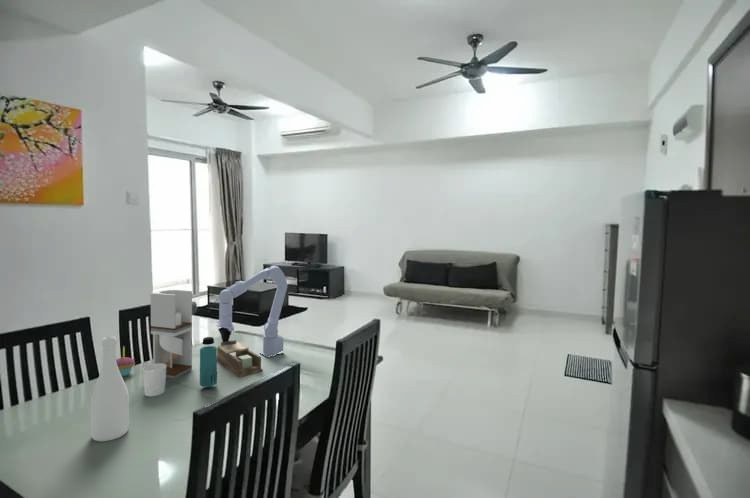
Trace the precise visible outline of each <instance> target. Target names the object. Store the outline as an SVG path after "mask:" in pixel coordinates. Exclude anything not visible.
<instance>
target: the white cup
mask: <svg viewBox="0 0 750 498" xmlns="http://www.w3.org/2000/svg"><path fill="white" fill-rule="evenodd" d="M166 380H167V378H166V364H162V363H157V364H153V363H150V364H148V365H144V366H143V367H142V383H143V390H144V396H147V397H157V396H160V395H162V394H164V393H165V391H166Z"/></svg>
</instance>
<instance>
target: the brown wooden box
mask: <svg viewBox="0 0 750 498" xmlns="http://www.w3.org/2000/svg"><path fill="white" fill-rule="evenodd" d="M216 348H217V364H219V365H221V366H222V367H223V368H225V369H226V370H228V371H229V372H230V373H232V374H233V375H234V376H236V377H237V378H241V377H244V376H248V375H252V374H255V373H256V374H257V373H260V372H263V370H264V369H263V368H262V356H261V355H260V354H256V353H255V352H253V351H251V350H250V349H248V350H243V351H239V352H235V354H234V355H232V354H231V353H229V354H227V353H225V352H224V351H222V350H221V349H219V348H218V347H216ZM244 355H249V356H251V357H252V367H251V368H247V369H243V370H241V369H242V361H240V360H238V357H239V356H244ZM259 371H260V372H259Z"/></svg>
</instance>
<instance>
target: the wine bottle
mask: <svg viewBox="0 0 750 498" xmlns="http://www.w3.org/2000/svg"><path fill="white" fill-rule="evenodd" d="M117 343H118V341H117V337H116V336H112V335H110V336H104V337H103V338H102V340H101V346H102V365H101V366H102V367H101V371H100V373H99V376H98V378H97V381H96V384H95V386H94V389H93V392H92V394H91V397H90V432H91V433H90V436H91V439H92V440H94V441H96V442H110V441H114V440H116V439H119V438H121V437H123V436H124V435H126V433H127V432H128V431H129V428H130V415H129V414H130V413H129V412H130V405H129V403H130V402H129V399H130V398H129V397H130V396H129V389H128V387H127V384H126V383H125V380H124V379H123V376H121V374H120V371H119V369H118V366H117V362H116V359H117V347H116V345H117Z"/></svg>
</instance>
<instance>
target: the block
mask: <svg viewBox="0 0 750 498" xmlns="http://www.w3.org/2000/svg"><path fill="white" fill-rule="evenodd" d="M238 360H240V361H242V369H241V370H243V369H247V368H251V367H252V357H251V356H249V355H244V356H239V357H238Z"/></svg>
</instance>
